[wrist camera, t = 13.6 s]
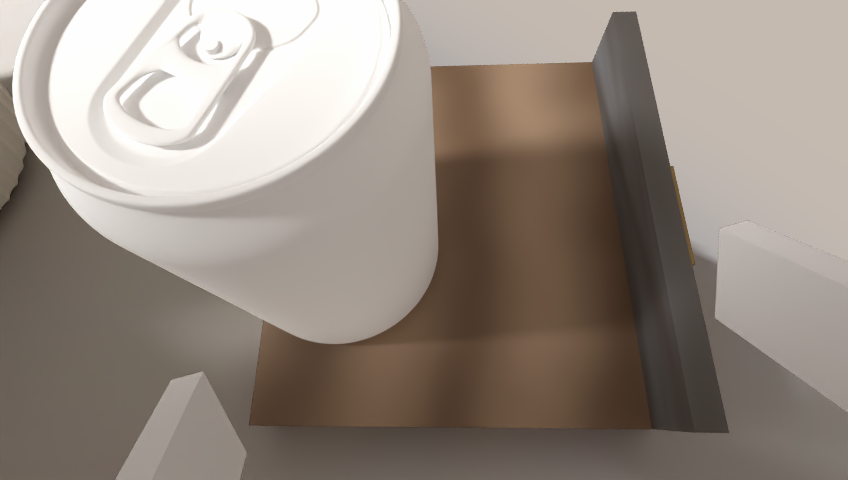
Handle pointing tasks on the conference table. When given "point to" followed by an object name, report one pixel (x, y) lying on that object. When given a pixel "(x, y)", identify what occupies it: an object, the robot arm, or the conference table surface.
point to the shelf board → (531, 270)
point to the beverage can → (247, 148)
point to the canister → (9, 146)
